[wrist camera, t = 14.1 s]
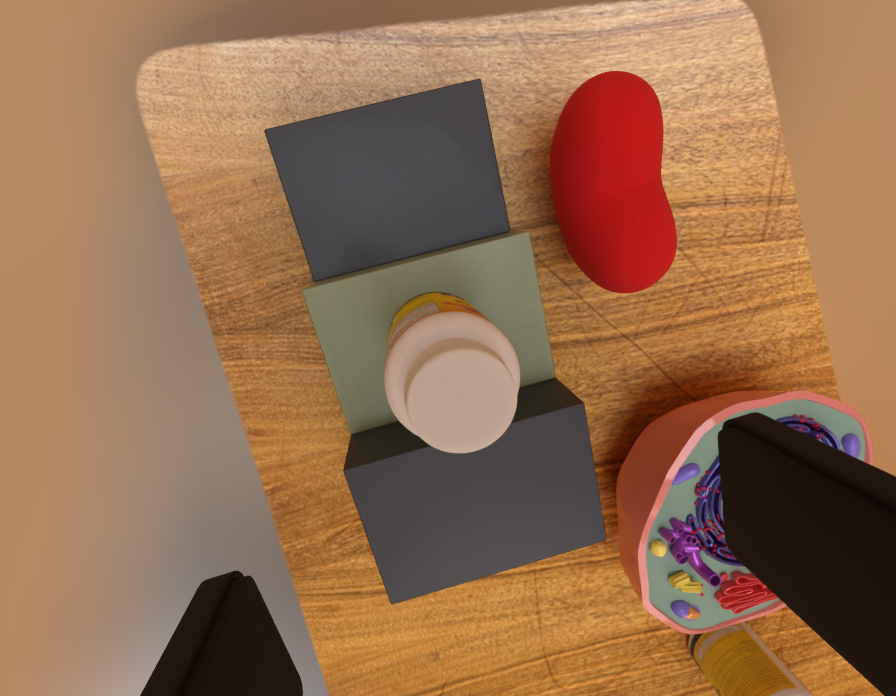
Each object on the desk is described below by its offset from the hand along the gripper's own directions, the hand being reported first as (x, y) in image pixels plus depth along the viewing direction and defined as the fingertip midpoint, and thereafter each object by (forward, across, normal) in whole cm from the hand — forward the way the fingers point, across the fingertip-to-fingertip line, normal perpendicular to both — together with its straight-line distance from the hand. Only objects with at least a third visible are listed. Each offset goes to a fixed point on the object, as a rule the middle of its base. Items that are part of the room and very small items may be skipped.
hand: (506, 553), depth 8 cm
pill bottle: (+24, -21, +39) cm, 50 cm away
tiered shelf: (+24, -1, 0) cm, 24 cm away
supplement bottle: (+17, -1, 0) cm, 17 cm away
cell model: (+24, -19, +18) cm, 35 cm away
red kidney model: (+24, -12, -6) cm, 28 cm away
